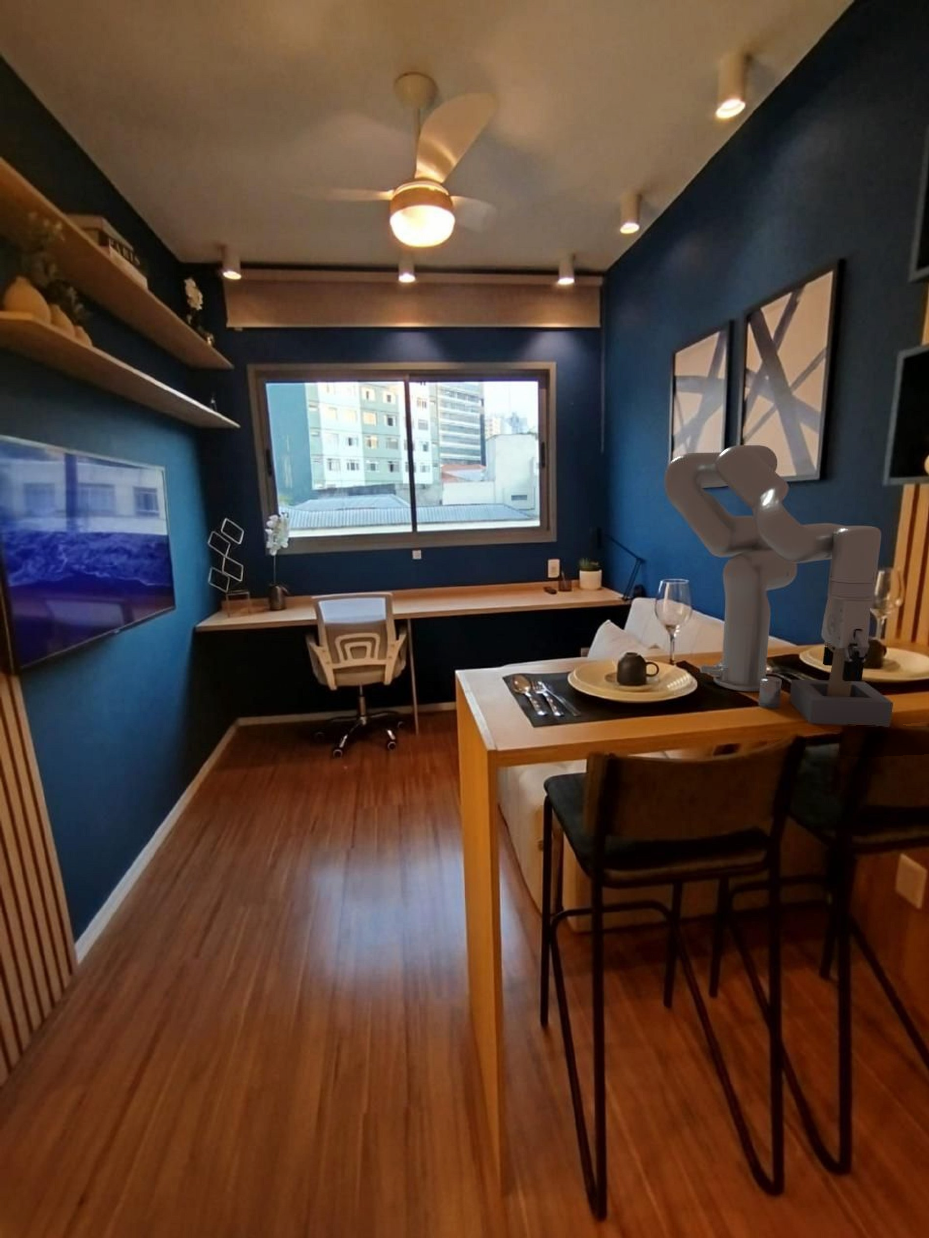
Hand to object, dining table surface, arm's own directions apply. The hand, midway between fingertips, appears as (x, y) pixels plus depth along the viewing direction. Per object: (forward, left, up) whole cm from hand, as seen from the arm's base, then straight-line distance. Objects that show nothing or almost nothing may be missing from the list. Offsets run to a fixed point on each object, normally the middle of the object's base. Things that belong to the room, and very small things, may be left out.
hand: (841, 672), depth 114 cm
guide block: (0, 0, -9) cm, 9 cm away
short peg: (-12, +3, -9) cm, 15 cm away
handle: (0, 0, -9) cm, 9 cm away
